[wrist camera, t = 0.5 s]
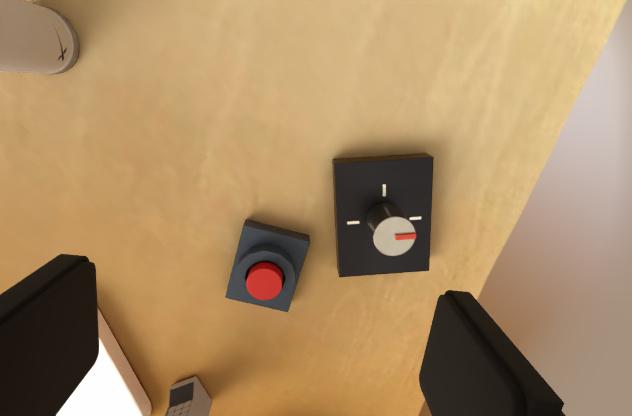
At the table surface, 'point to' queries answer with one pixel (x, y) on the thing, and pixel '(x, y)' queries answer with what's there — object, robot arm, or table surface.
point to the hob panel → (373, 188)
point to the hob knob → (390, 229)
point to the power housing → (273, 248)
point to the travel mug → (35, 39)
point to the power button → (264, 281)
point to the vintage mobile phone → (188, 399)
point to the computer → (108, 384)
